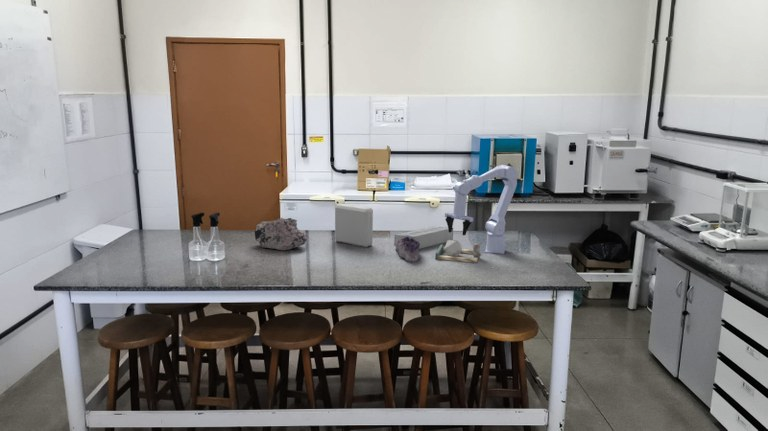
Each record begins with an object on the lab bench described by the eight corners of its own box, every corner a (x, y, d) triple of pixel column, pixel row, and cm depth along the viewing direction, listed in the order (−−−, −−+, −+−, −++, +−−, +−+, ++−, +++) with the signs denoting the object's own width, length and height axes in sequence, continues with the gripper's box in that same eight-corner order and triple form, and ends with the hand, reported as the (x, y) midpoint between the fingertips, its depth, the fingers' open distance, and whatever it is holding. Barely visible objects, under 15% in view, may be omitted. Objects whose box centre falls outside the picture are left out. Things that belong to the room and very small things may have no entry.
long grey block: (433, 236, 314) (433, 223, 313) (452, 241, 304) (453, 227, 302) (394, 245, 295) (394, 231, 293) (413, 251, 284) (414, 236, 283)
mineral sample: (310, 217, 293) (300, 210, 279) (311, 252, 288) (300, 247, 274) (262, 223, 298) (250, 216, 284) (262, 257, 293) (250, 252, 279)
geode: (427, 262, 265) (425, 242, 262) (404, 266, 263) (401, 246, 260) (416, 249, 284) (415, 230, 281) (394, 253, 282) (392, 234, 280)
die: (456, 261, 269) (466, 244, 271) (441, 251, 270) (451, 234, 271) (454, 262, 277) (464, 245, 279) (439, 253, 278) (449, 236, 279)
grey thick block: (375, 244, 293) (375, 207, 289) (366, 248, 286) (366, 210, 282) (342, 238, 304) (342, 202, 300) (333, 241, 297) (333, 205, 293)
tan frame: (480, 253, 280) (481, 240, 278) (477, 262, 264) (478, 249, 263) (440, 250, 285) (440, 237, 283) (435, 259, 269) (435, 245, 268)
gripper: (442, 205, 274) (440, 232, 277) (469, 210, 266) (466, 237, 269) (449, 203, 280) (447, 230, 283) (476, 208, 272) (473, 235, 275)
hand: (457, 233), depth 276 cm, fingers open, 7 cm apart
